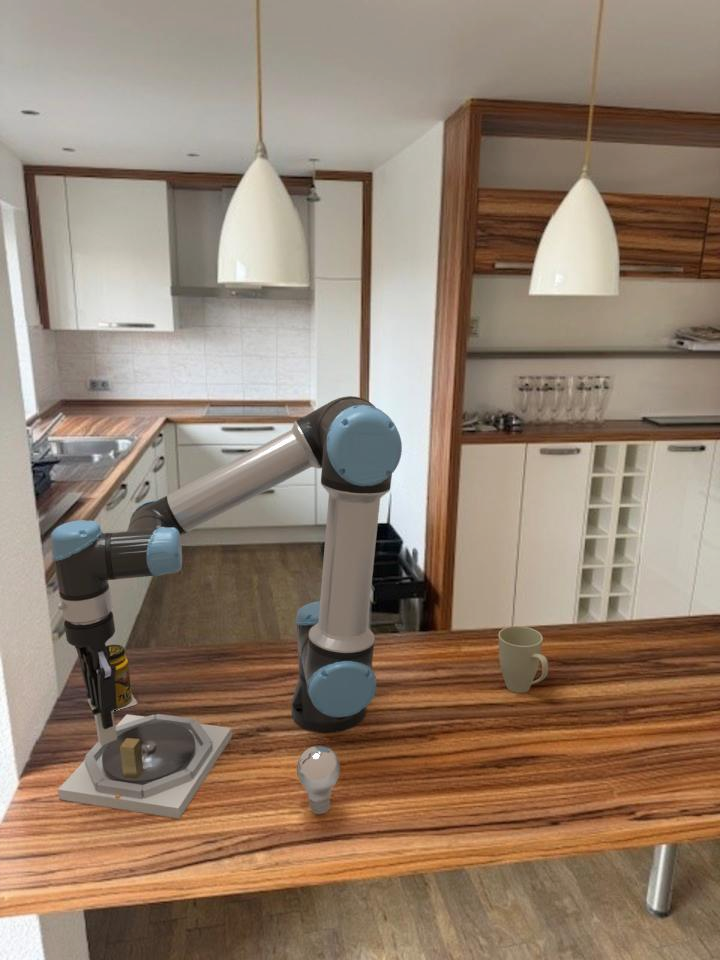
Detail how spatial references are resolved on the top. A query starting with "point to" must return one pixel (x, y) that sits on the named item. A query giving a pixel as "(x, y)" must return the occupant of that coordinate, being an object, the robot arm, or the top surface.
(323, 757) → the light bulb
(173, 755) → the dial
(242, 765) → the top surface
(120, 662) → the condiment
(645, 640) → the top surface
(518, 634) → the mug
